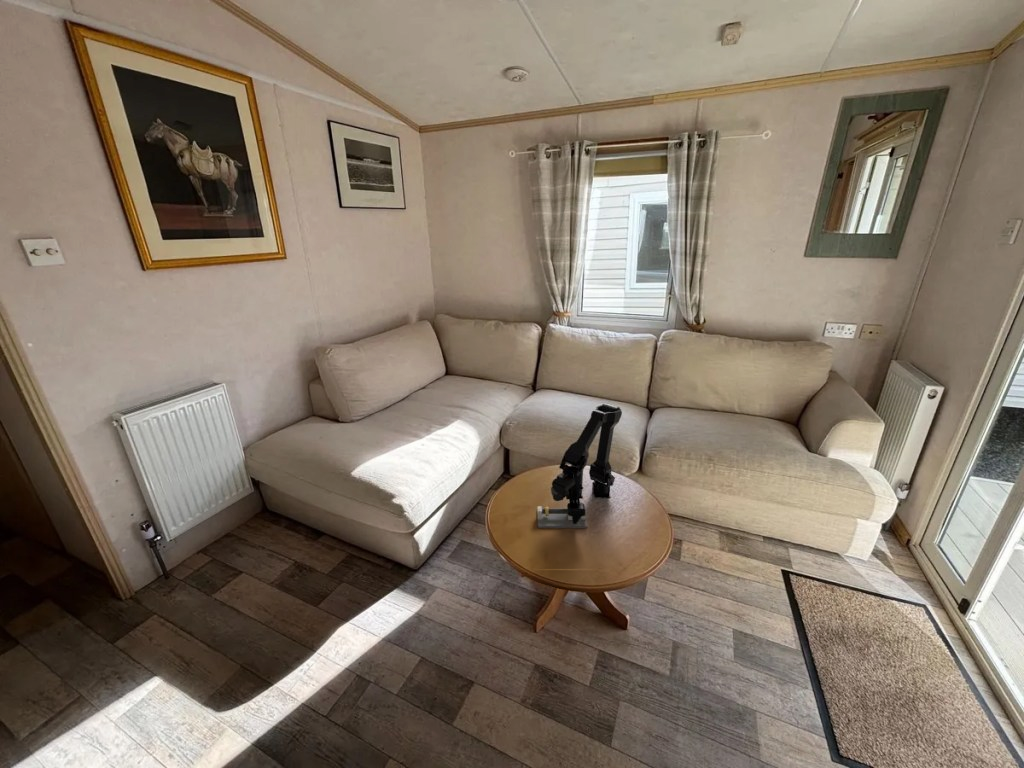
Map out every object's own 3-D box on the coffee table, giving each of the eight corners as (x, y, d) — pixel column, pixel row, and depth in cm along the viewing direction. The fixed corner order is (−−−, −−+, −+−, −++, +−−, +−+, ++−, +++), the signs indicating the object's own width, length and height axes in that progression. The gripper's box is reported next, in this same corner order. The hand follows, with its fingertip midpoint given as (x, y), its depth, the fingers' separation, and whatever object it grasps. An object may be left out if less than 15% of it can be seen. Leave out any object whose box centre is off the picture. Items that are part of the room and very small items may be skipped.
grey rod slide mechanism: (583, 510, 156) (583, 499, 154) (586, 528, 146) (587, 516, 145) (537, 510, 156) (537, 499, 155) (538, 527, 147) (538, 516, 145)
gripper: (551, 466, 154) (550, 499, 160) (554, 496, 137) (553, 532, 142) (579, 466, 154) (578, 499, 159) (586, 496, 136) (584, 532, 142)
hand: (573, 515), depth 151 cm, fingers open, 9 cm apart
